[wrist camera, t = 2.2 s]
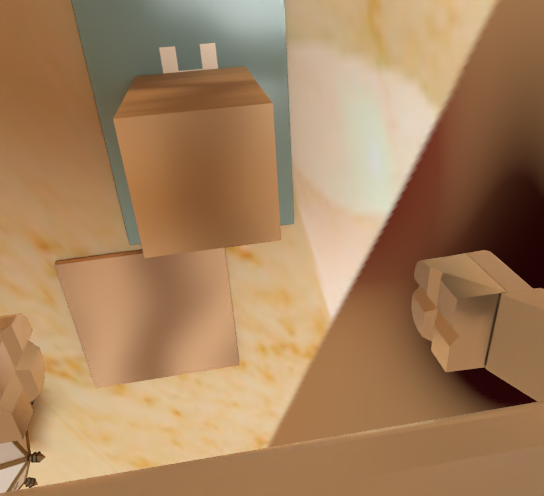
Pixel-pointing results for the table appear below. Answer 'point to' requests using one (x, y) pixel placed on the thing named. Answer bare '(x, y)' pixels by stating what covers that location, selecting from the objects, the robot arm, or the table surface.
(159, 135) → the oak block
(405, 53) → the table surface
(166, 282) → the cork mat
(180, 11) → the tile
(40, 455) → the game die
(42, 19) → the table surface
